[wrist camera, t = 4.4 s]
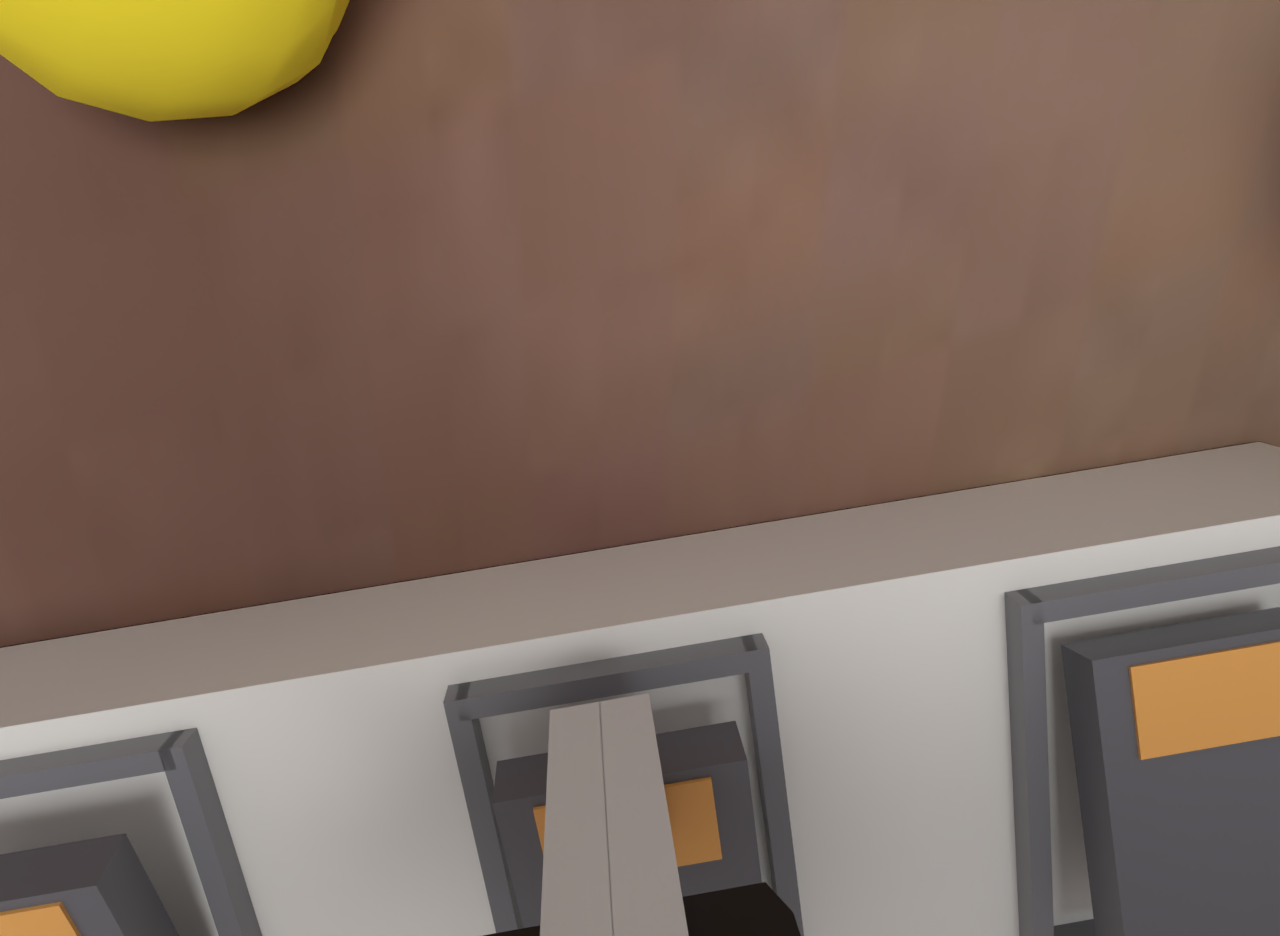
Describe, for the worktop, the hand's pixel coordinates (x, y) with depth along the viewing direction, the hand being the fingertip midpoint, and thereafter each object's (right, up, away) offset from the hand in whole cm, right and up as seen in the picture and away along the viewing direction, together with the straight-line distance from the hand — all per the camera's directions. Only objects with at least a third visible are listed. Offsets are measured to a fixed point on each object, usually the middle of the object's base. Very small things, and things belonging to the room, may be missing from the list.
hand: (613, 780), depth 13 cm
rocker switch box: (+6, -2, +8) cm, 10 cm away
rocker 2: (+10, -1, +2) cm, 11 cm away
